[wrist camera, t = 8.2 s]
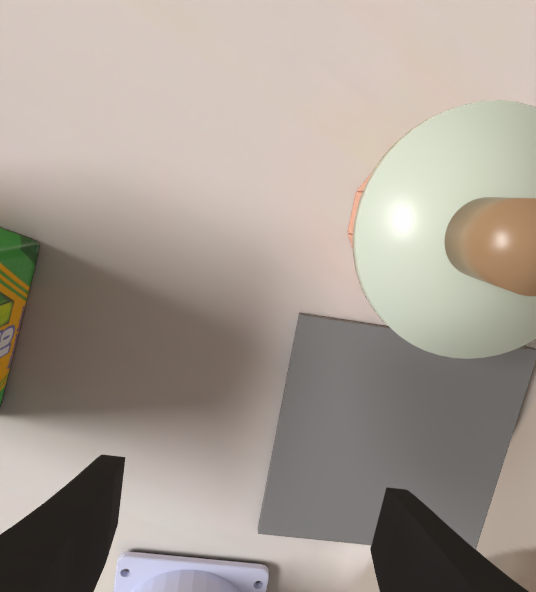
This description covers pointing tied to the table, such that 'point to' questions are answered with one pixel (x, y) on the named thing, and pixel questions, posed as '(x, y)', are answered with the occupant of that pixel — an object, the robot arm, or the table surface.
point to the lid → (454, 232)
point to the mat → (387, 431)
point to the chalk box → (13, 292)
